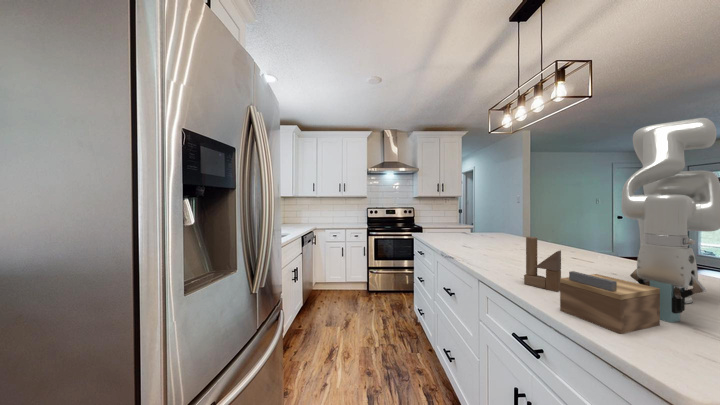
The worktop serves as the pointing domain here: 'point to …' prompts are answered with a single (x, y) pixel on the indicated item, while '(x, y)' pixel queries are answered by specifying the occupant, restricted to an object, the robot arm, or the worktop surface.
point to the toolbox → (611, 309)
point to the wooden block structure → (550, 264)
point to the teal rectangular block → (666, 301)
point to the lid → (608, 286)
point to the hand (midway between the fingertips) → (664, 308)
